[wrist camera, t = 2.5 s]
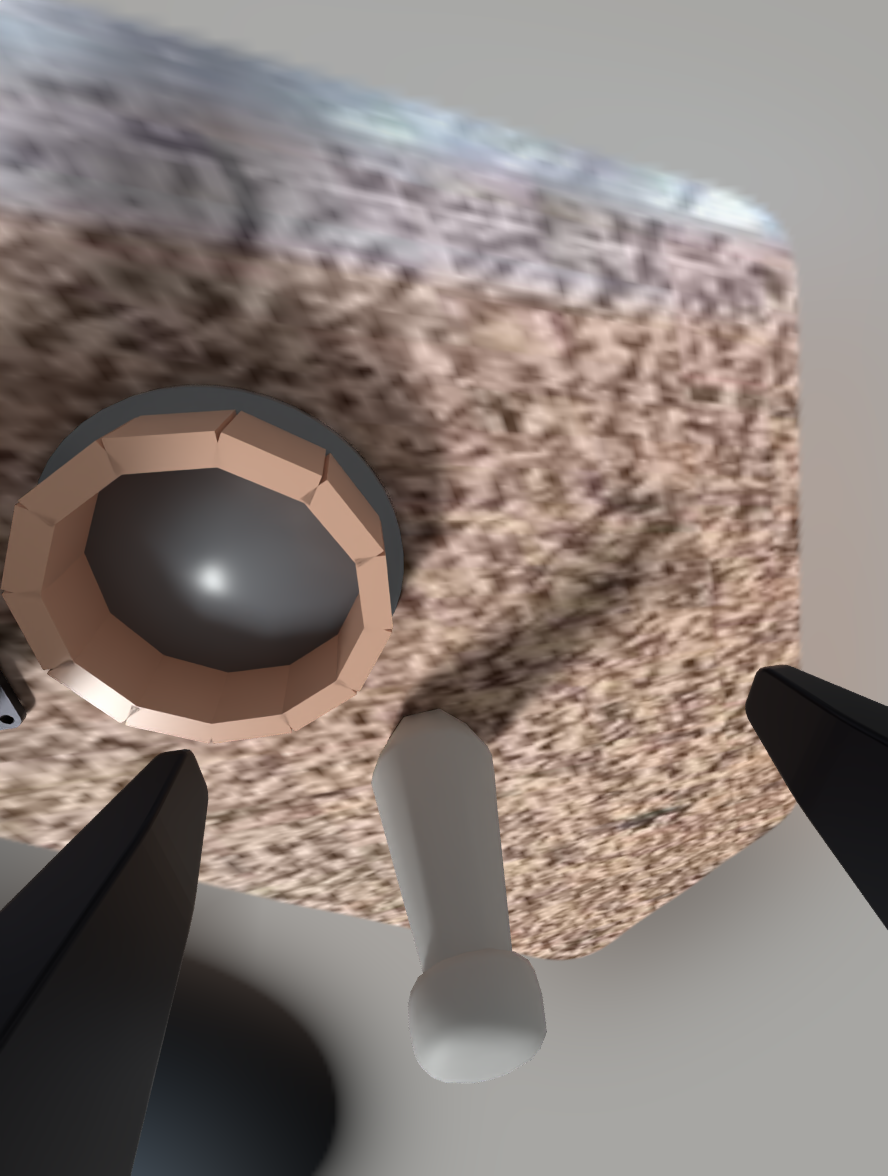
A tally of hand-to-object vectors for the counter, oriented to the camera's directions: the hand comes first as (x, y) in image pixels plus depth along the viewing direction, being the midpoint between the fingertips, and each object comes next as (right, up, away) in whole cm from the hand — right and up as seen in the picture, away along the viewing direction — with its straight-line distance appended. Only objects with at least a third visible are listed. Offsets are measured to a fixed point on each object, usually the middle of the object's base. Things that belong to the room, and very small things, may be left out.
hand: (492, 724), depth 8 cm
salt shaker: (-2, -5, +18) cm, 19 cm away
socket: (-9, +3, +12) cm, 15 cm away
